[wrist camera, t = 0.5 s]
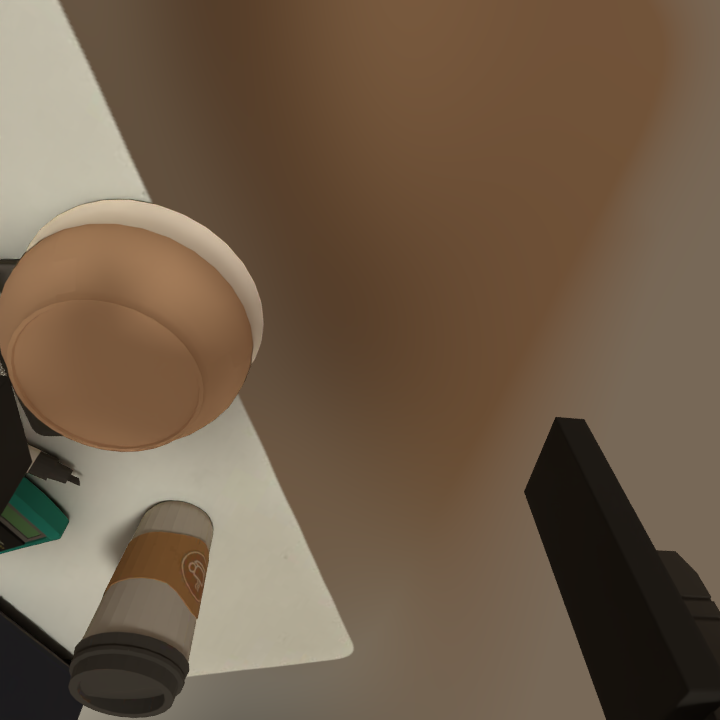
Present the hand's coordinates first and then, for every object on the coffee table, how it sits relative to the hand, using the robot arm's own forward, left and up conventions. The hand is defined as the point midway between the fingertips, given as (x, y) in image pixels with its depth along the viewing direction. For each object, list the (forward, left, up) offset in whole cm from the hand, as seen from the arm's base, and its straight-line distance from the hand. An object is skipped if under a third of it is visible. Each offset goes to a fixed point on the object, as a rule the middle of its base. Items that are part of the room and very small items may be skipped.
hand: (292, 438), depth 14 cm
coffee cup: (+31, +18, -24) cm, 43 cm away
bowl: (+16, +1, -15) cm, 22 cm away
